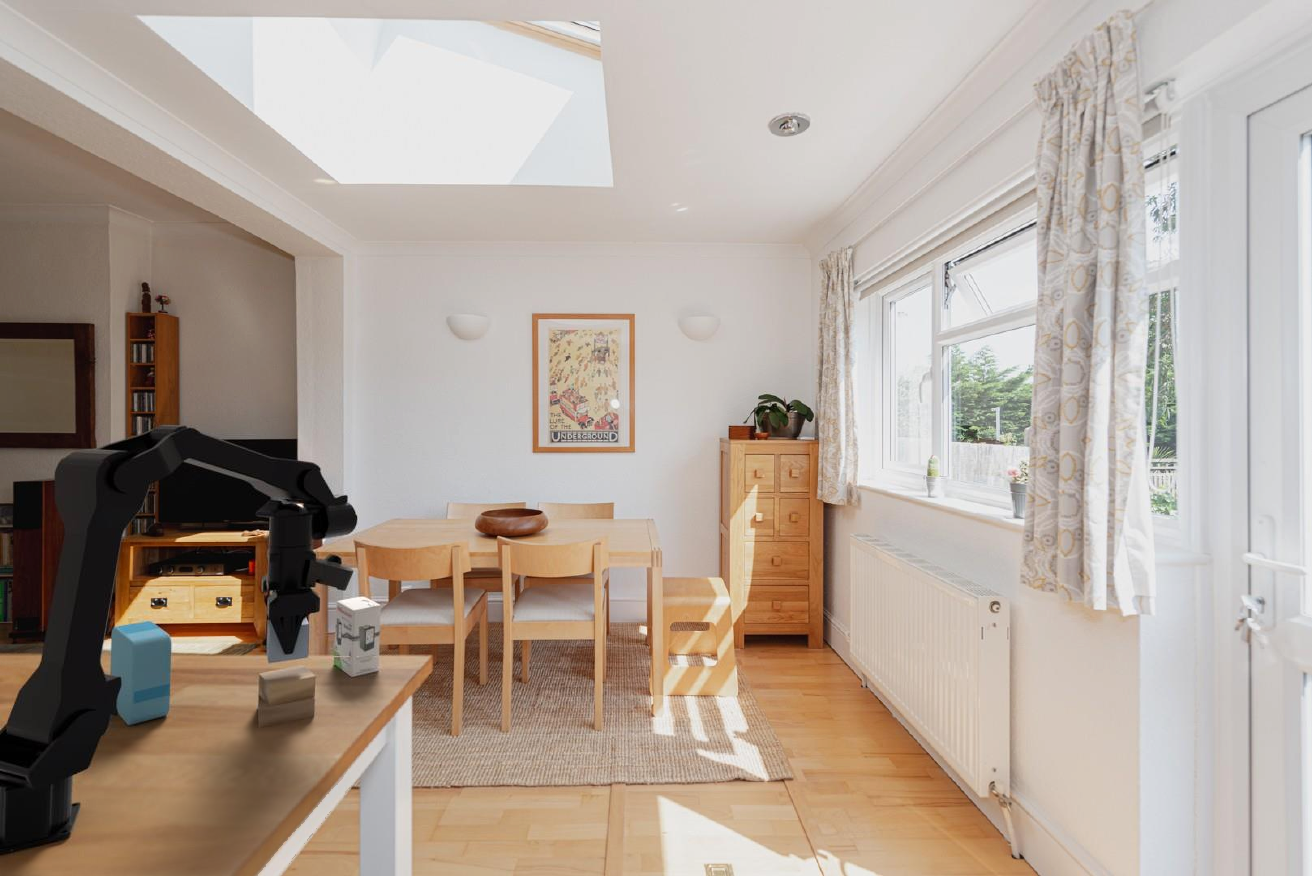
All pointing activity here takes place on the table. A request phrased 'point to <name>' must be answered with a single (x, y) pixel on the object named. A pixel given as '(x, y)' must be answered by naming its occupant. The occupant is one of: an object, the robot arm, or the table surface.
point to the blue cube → (276, 650)
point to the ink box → (357, 636)
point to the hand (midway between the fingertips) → (287, 648)
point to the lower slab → (285, 711)
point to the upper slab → (286, 685)
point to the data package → (141, 671)
